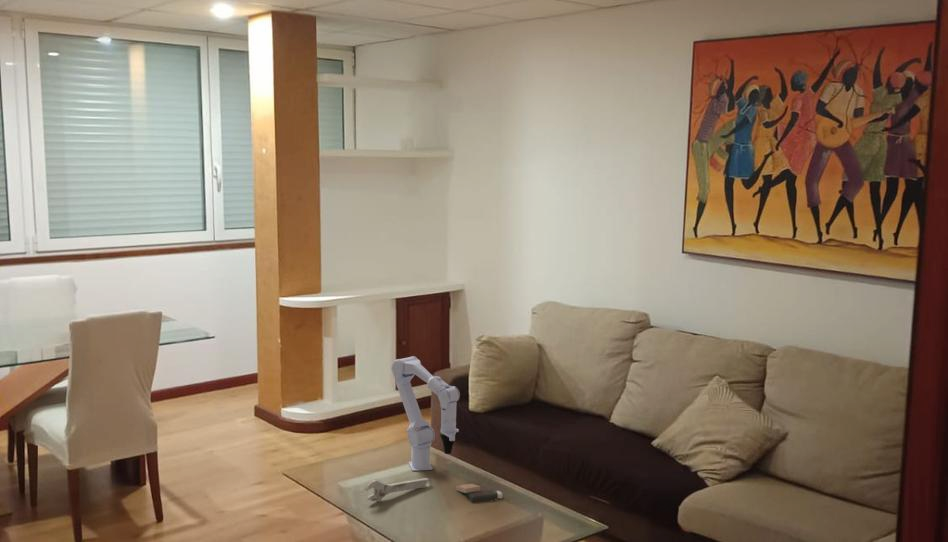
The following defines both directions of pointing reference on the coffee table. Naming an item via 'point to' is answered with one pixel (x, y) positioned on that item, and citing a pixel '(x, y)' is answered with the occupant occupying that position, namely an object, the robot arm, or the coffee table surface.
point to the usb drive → (484, 495)
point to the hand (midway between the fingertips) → (447, 453)
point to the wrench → (393, 487)
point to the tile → (468, 488)
